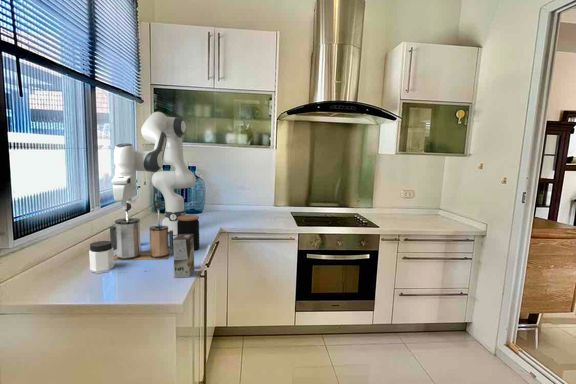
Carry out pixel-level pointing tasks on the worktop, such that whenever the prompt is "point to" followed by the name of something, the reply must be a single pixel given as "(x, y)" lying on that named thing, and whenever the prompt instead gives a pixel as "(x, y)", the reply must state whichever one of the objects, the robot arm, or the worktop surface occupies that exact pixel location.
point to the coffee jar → (189, 227)
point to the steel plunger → (127, 210)
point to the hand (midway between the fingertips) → (126, 208)
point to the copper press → (160, 241)
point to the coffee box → (183, 255)
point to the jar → (101, 256)
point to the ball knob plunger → (158, 205)
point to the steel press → (126, 238)
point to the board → (145, 256)
